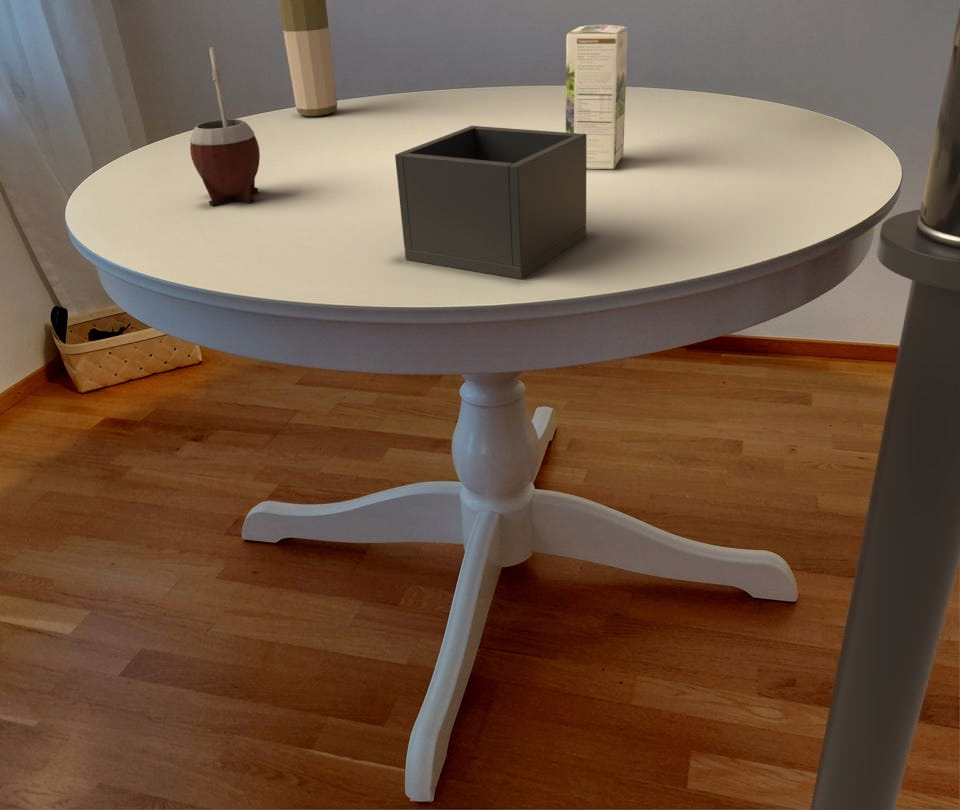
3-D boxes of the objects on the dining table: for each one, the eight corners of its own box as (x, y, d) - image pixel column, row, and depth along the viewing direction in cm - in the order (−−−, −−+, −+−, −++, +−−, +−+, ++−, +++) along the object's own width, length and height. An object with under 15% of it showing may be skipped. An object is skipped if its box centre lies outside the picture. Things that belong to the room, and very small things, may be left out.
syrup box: (575, 156, 105) (575, 25, 98) (625, 157, 103) (628, 23, 96) (564, 169, 100) (563, 31, 93) (616, 170, 98) (619, 30, 91)
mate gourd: (228, 211, 92) (197, 59, 85) (184, 201, 97) (151, 56, 90) (283, 193, 97) (258, 49, 90) (238, 185, 102) (212, 46, 95)
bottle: (324, 108, 143) (295, -105, 129) (349, 112, 138) (321, -108, 124) (286, 115, 139) (252, -104, 125) (311, 120, 134) (278, -107, 120)
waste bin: (586, 236, 79) (586, 133, 74) (521, 279, 70) (517, 166, 66) (477, 221, 84) (471, 125, 80) (405, 259, 76) (394, 154, 72)
